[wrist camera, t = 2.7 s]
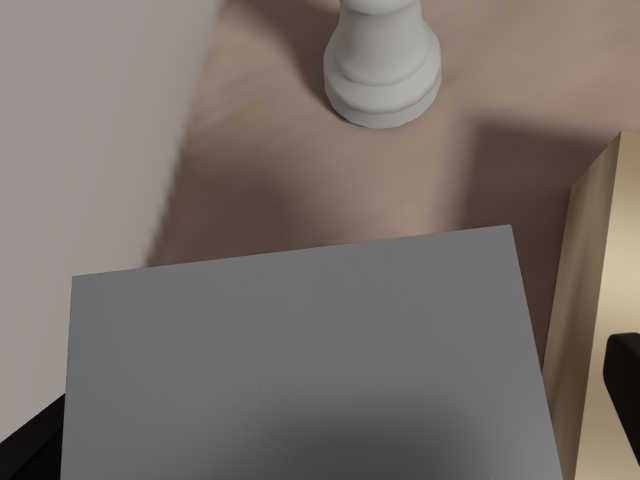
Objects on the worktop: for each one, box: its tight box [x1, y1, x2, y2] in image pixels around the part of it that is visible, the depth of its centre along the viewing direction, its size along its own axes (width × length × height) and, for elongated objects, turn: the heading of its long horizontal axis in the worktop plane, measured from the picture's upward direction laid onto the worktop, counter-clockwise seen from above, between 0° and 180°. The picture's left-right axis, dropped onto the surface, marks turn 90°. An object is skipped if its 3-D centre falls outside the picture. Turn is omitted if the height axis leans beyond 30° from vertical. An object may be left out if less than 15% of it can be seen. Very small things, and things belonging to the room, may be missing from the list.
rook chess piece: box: [323, 0, 442, 129], centre depth 16 cm, size 4×4×8 cm
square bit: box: [60, 224, 563, 480], centre depth 10 cm, size 4×4×13 cm
